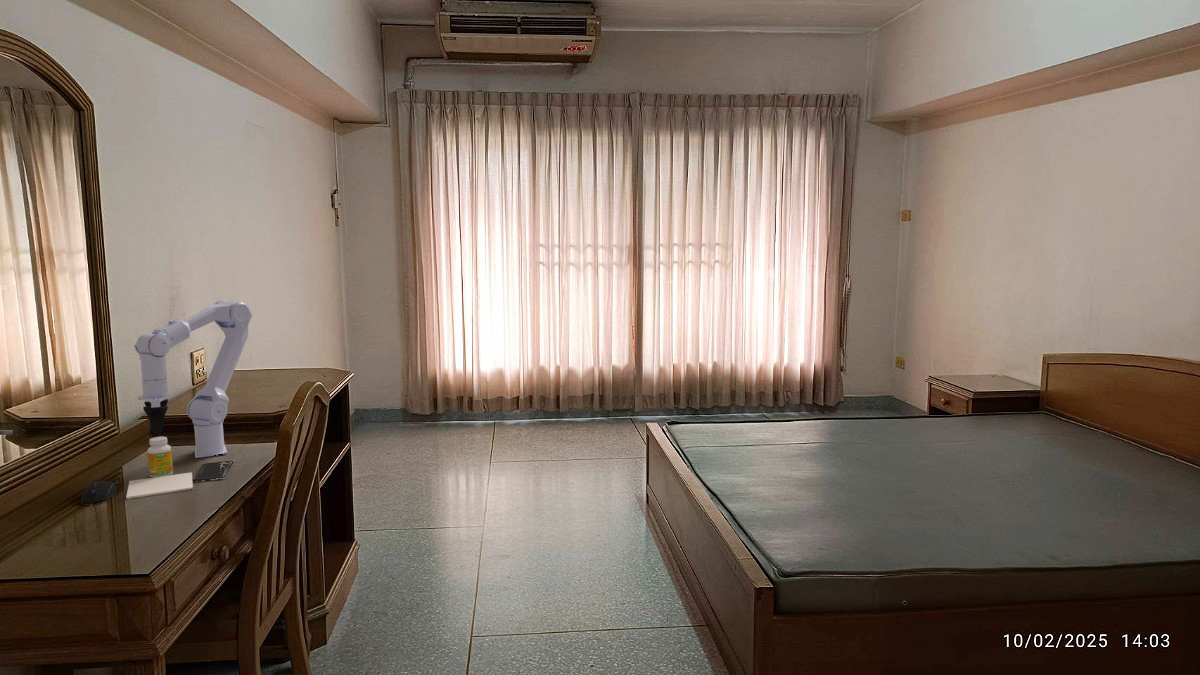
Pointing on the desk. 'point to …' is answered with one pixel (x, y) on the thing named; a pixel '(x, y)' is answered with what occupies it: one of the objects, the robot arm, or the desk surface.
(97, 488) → the gaming mouse
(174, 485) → the sticky note pad
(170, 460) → the supplement bottle
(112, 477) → the desk surface
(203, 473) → the phone
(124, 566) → the desk surface
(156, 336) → the robot arm
